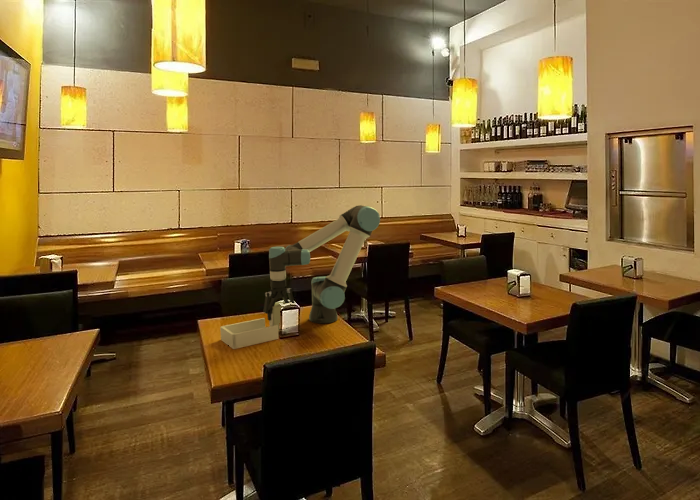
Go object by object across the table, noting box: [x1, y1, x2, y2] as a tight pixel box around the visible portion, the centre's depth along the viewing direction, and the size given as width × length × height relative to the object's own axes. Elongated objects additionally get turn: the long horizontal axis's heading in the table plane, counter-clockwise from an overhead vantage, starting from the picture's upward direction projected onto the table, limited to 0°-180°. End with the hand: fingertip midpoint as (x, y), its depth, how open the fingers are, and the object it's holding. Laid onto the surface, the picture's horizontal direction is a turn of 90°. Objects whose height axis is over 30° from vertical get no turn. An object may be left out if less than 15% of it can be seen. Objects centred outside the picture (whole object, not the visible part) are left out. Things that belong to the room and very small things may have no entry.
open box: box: [219, 317, 279, 350], centre depth 217 cm, size 22×15×6 cm
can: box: [272, 301, 285, 331], centre depth 225 cm, size 9×9×12 cm
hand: (280, 324), depth 226 cm, fingers closed on can, 9 cm apart
